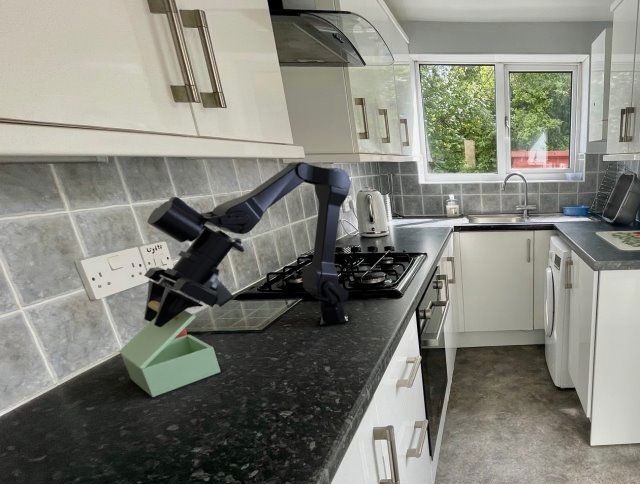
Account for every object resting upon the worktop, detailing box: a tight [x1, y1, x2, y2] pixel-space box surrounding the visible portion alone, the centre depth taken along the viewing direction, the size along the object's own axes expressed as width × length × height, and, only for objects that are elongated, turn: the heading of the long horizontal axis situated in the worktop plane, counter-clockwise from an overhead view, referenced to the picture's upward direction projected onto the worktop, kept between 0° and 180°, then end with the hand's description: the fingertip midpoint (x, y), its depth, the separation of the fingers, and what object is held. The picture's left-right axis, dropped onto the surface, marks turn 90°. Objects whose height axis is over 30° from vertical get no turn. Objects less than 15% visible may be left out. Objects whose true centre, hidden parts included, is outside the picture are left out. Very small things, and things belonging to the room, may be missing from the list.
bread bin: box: [120, 334, 221, 398], centre depth 82 cm, size 11×11×6 cm
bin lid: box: [118, 301, 197, 369], centre depth 77 cm, size 12×11×4 cm
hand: (152, 323), depth 78 cm, fingers closed on bin lid, 5 cm apart
